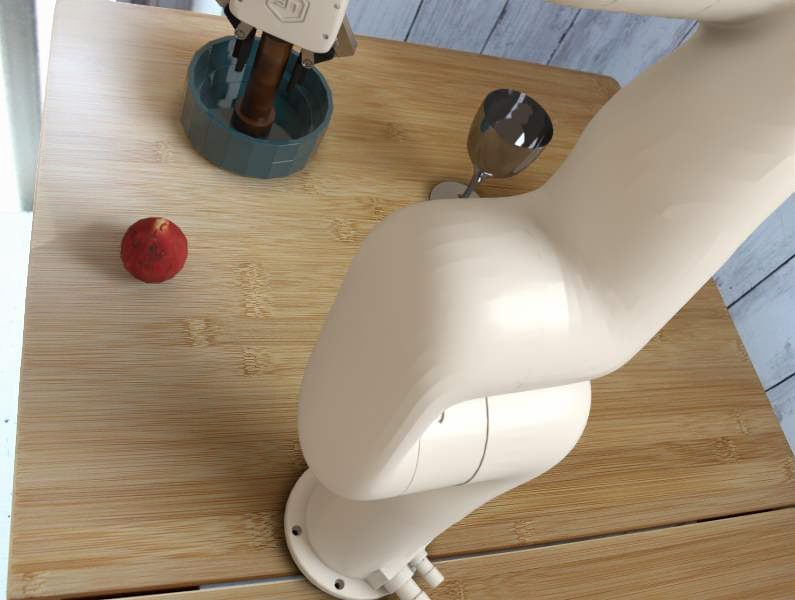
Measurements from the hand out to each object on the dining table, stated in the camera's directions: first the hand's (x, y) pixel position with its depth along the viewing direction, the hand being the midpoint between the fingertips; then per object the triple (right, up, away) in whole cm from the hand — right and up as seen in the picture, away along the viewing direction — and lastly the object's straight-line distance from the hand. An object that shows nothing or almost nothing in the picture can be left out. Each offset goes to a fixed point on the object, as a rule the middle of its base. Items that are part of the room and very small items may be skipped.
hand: (267, 73), depth 85 cm
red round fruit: (-10, -21, -7) cm, 24 cm away
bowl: (-3, -4, +6) cm, 8 cm away
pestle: (-3, -4, +6) cm, 7 cm away
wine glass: (+20, -12, +12) cm, 26 cm away
